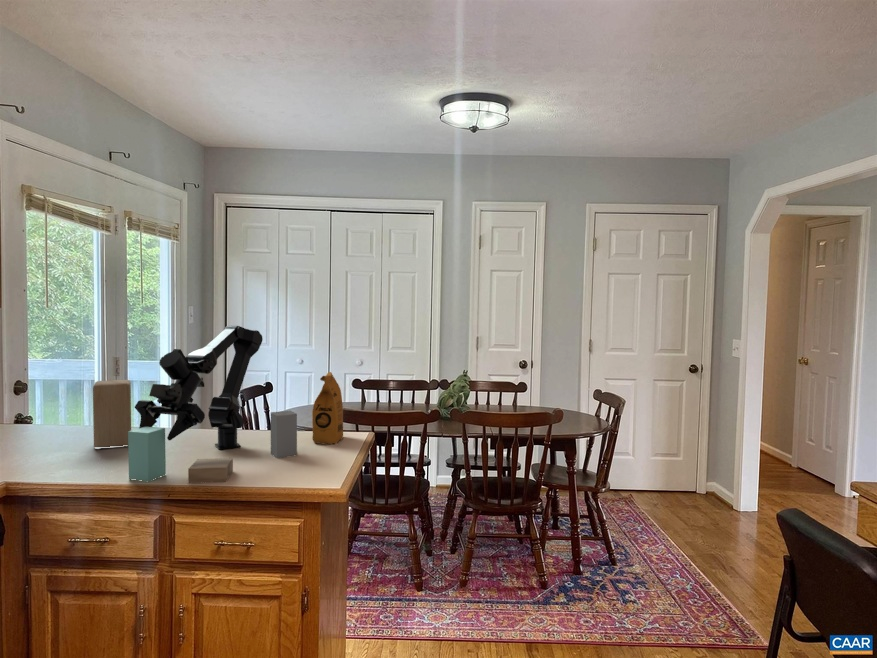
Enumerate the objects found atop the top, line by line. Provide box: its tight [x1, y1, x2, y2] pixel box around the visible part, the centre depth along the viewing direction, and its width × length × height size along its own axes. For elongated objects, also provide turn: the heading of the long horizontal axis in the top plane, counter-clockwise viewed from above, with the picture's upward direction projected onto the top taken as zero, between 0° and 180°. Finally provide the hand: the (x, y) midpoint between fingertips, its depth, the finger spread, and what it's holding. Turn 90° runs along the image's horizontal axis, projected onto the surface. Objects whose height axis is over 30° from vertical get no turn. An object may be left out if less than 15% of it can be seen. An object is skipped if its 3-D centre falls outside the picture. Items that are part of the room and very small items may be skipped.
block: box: [92, 379, 132, 448], centre depth 180 cm, size 10×10×20 cm
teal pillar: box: [127, 426, 167, 482], centre depth 148 cm, size 6×6×12 cm
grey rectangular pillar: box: [270, 410, 298, 459], centre depth 172 cm, size 6×6×12 cm
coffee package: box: [311, 371, 344, 445], centre depth 189 cm, size 10×12×22 cm
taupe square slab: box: [187, 457, 234, 484], centre depth 149 cm, size 9×9×4 cm
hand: (153, 438), depth 150 cm, fingers open, 9 cm apart
